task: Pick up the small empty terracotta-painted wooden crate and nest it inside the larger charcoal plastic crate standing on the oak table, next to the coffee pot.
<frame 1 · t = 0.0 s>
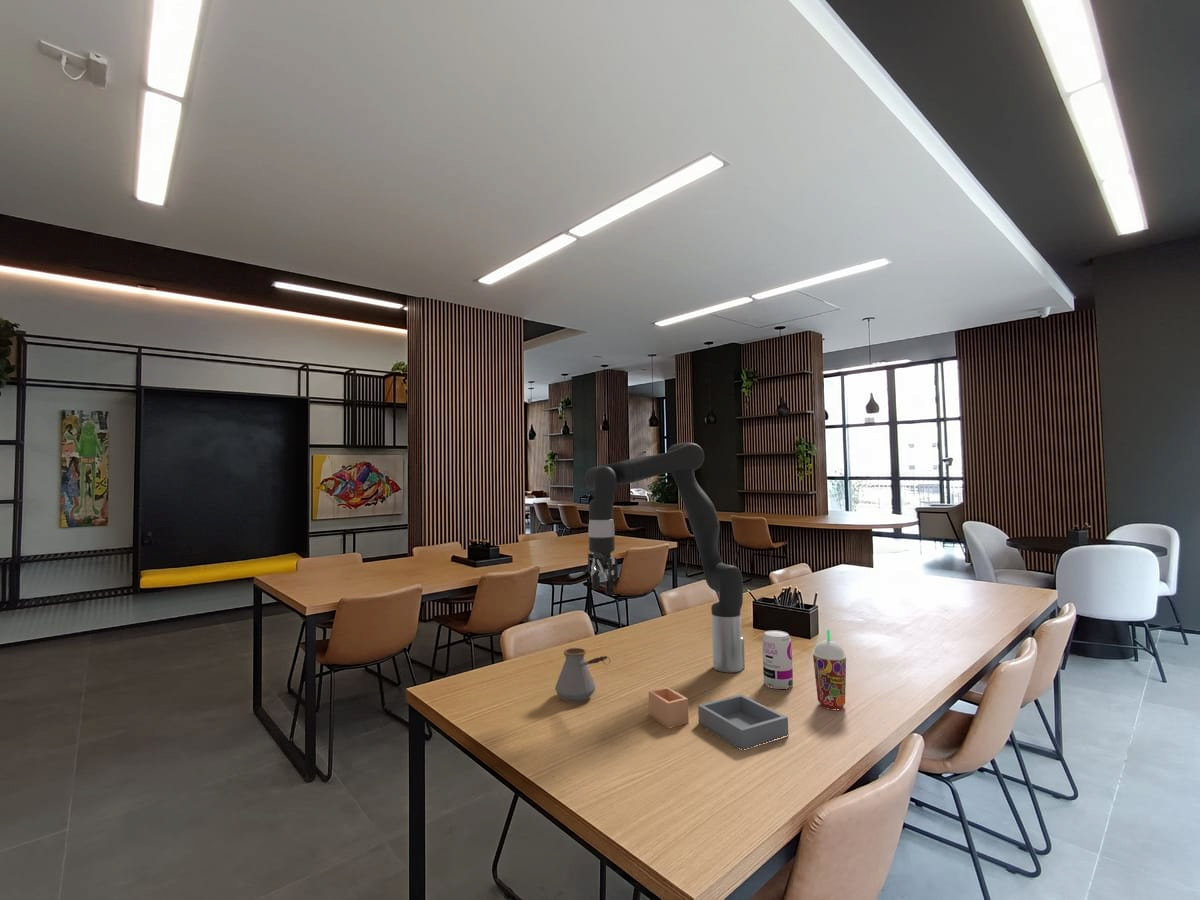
hand: (602, 591, 157), 29 cm above the table, tool pointing down, fingers open, 8 cm apart
smoothie: (831, 707, 145), on the table
terracotta crate: (668, 719, 139), on the table
supplement can: (778, 686, 160), on the table
grey crate: (742, 730, 132), on the table
coffee pot: (585, 703, 150), on the table
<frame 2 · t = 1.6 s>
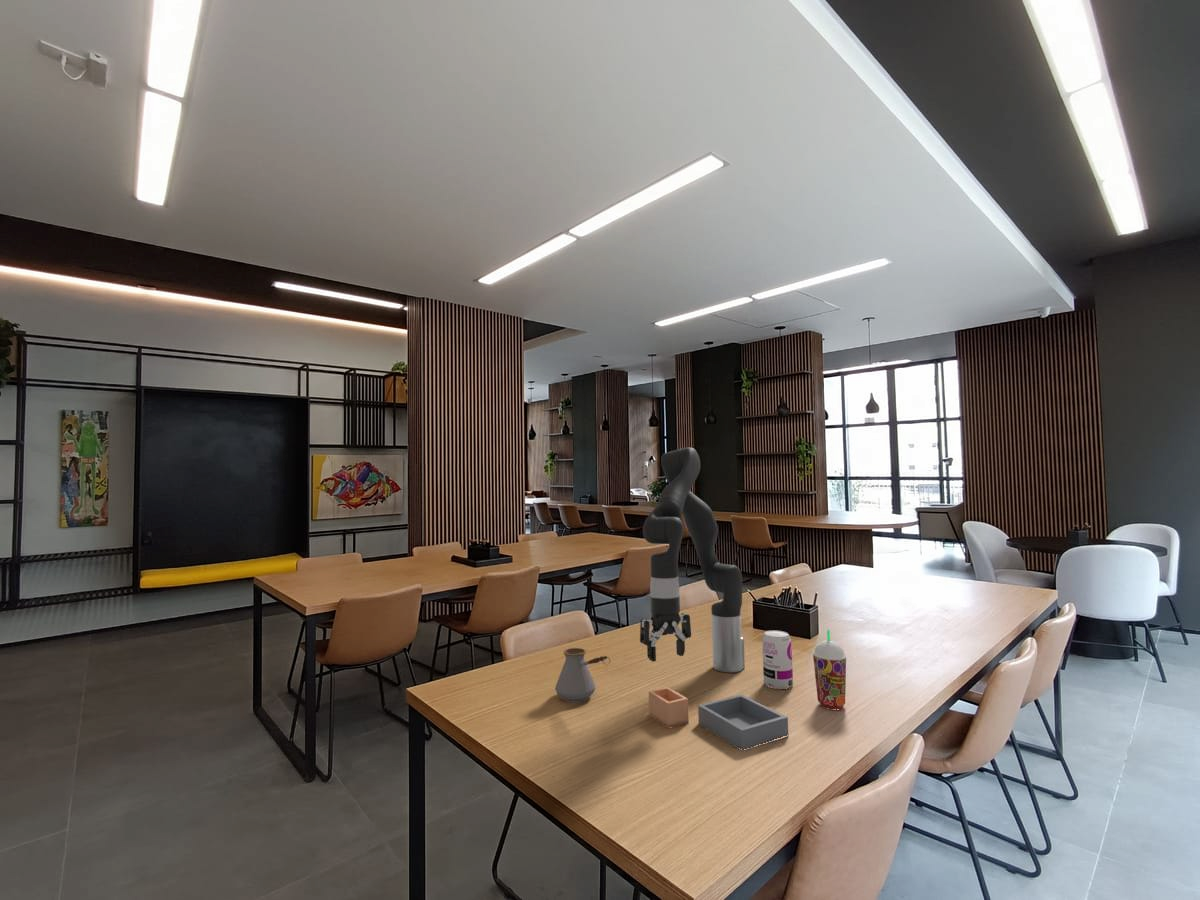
hand: (666, 657, 140), 15 cm above the table, tool pointing down, fingers open, 8 cm apart
nothing on the table moved.
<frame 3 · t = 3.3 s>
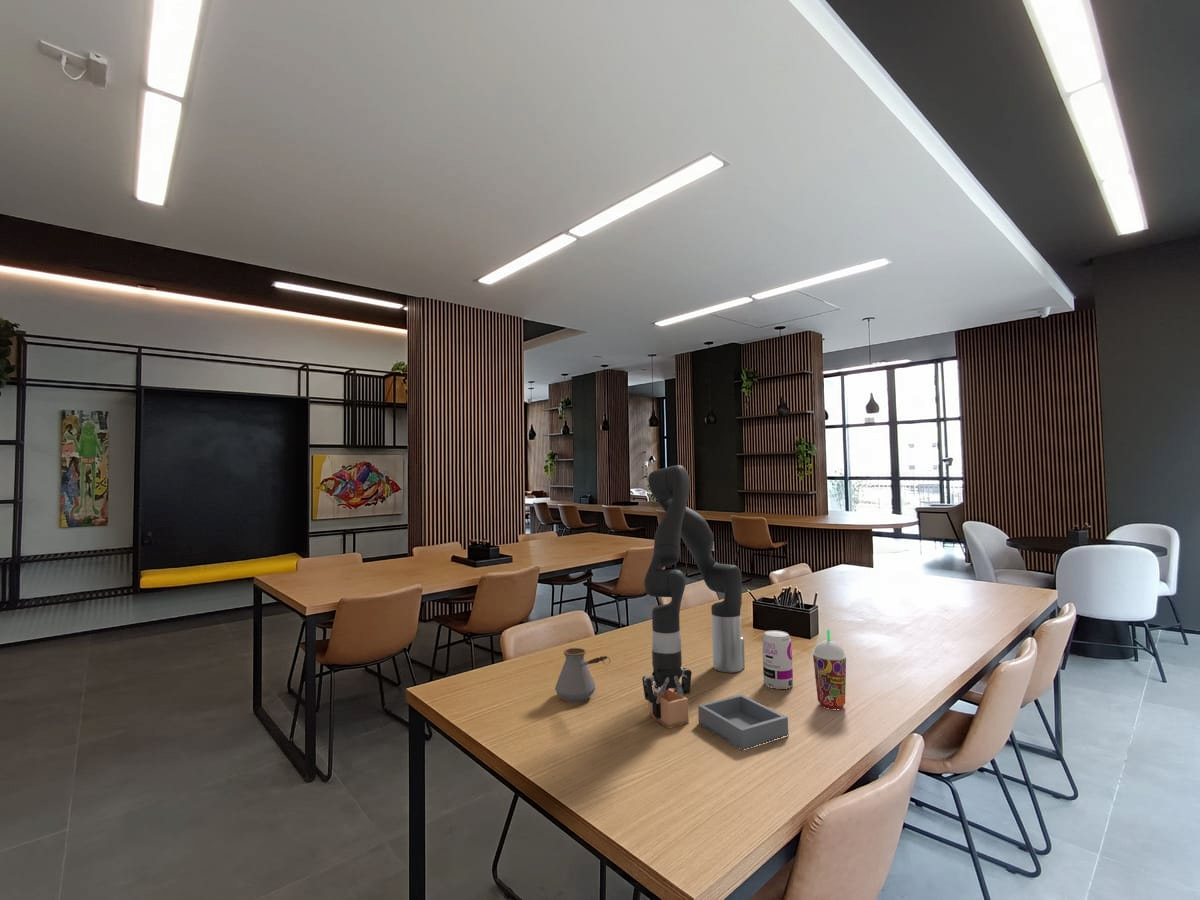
hand: (668, 714, 139), 1 cm above the table, tool pointing down, fingers closed on terracotta crate, 6 cm apart
terracotta crate: (668, 718, 139), on the table, touching gripper
everything else where it was.
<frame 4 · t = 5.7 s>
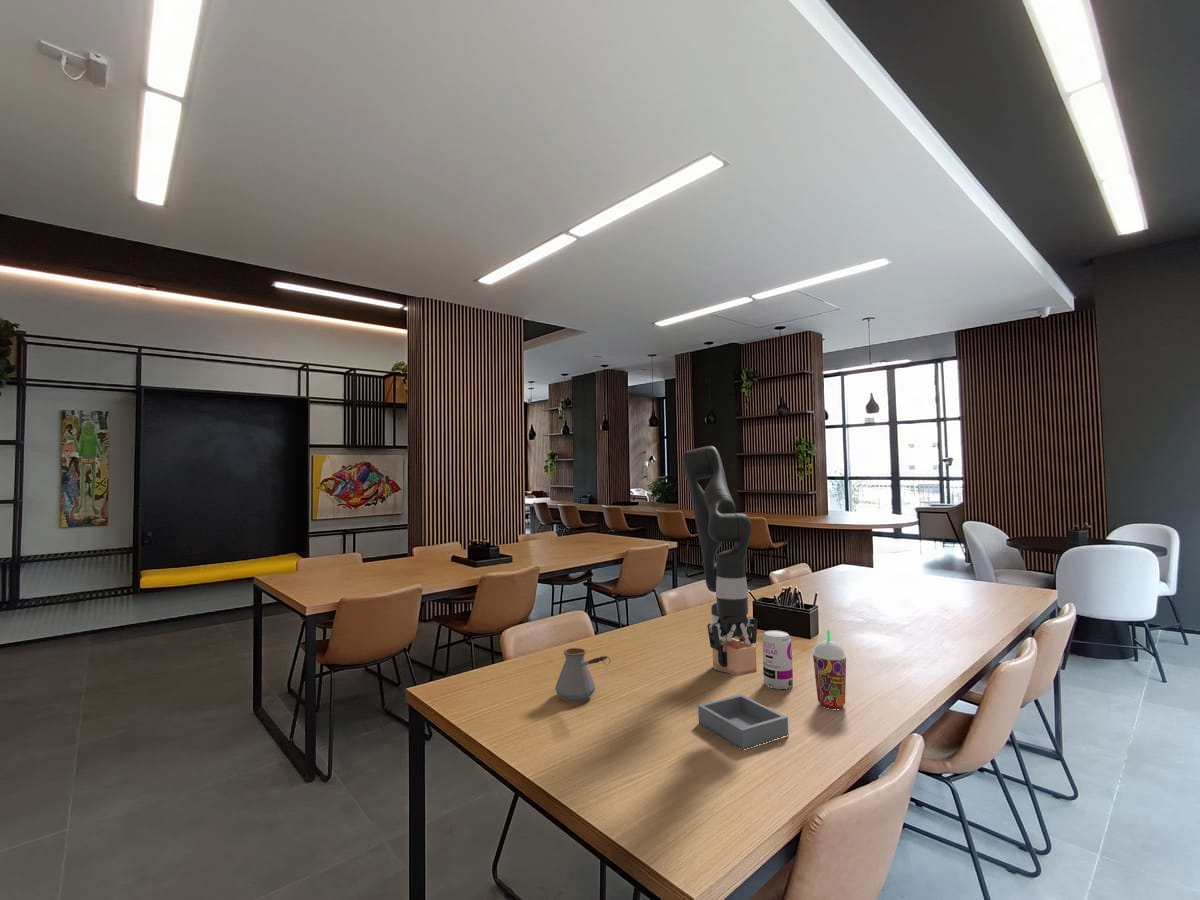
hand: (734, 663, 133), 16 cm above the table, tool pointing down, fingers closed on terracotta crate, 6 cm apart
terracotta crate: (734, 668, 133), point 15 cm above the table, touching gripper
everything else where it was.
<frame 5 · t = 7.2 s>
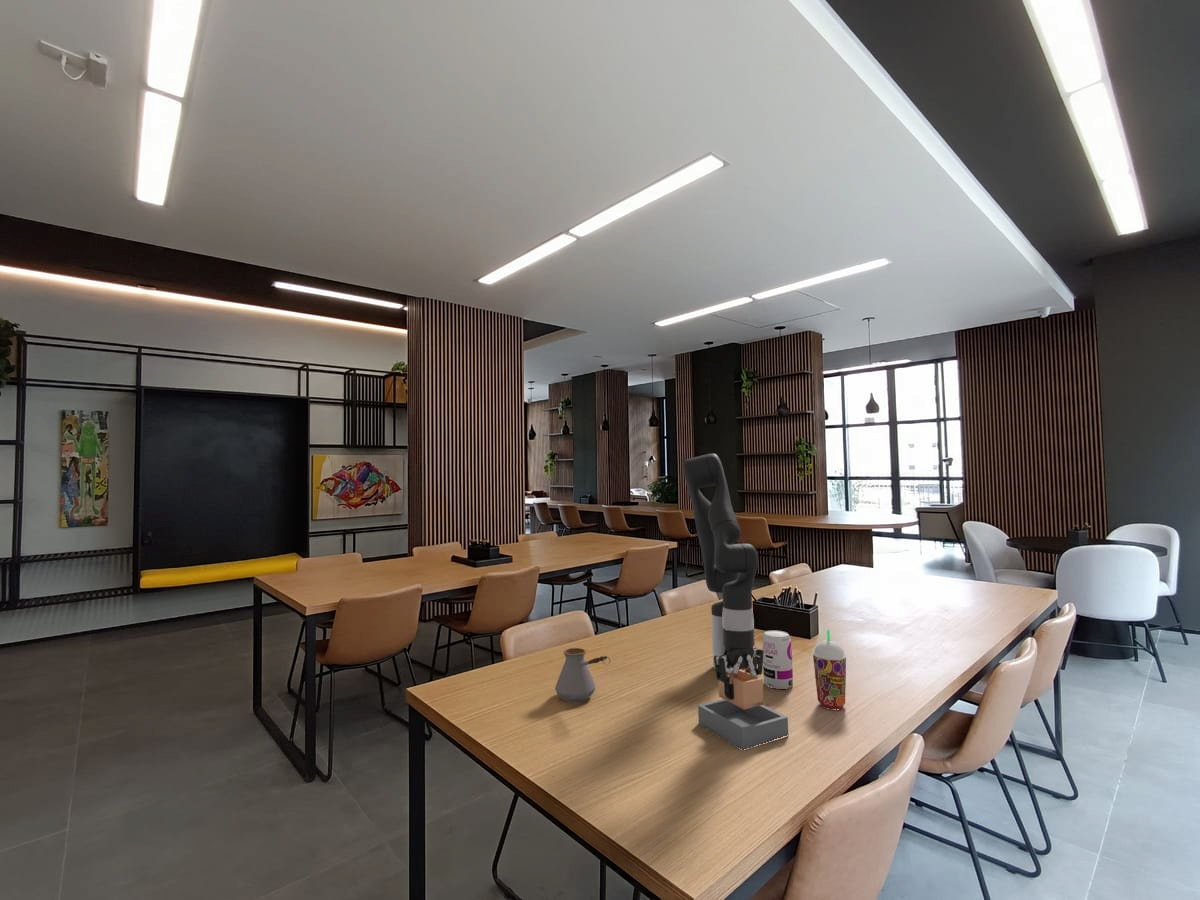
hand: (740, 695, 133), 8 cm above the table, tool pointing down, fingers closed on terracotta crate, 6 cm apart
terracotta crate: (740, 700, 132), point 7 cm above the table, touching gripper
everything else where it was.
when the fingers open (4 cm above the table, at t = 8.5 s): terracotta crate drops 2 cm, resting on grey crate.
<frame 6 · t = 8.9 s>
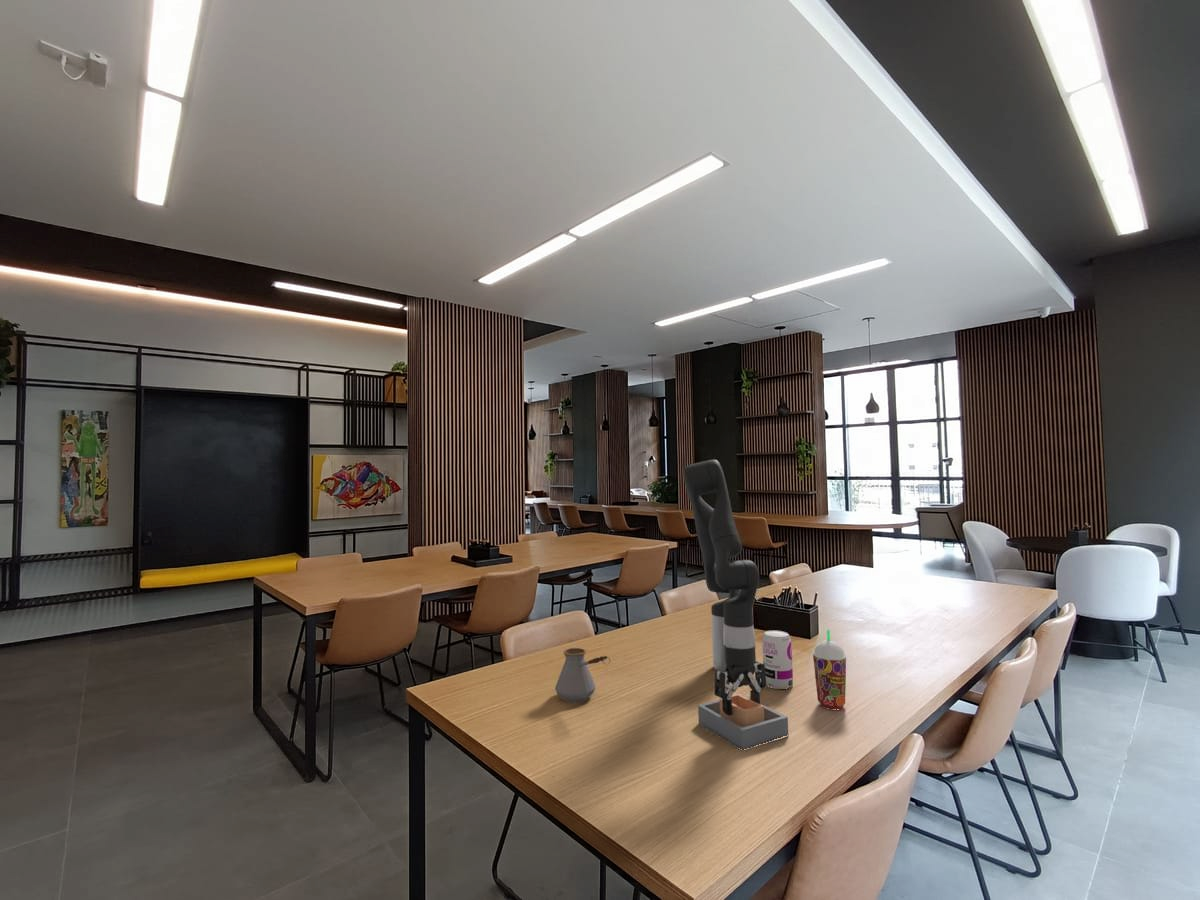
hand: (741, 710, 132), 5 cm above the table, tool pointing down, fingers open, 8 cm apart
terracotta crate: (742, 727, 132), point 1 cm above the table, touching grey crate
everything else where it was.
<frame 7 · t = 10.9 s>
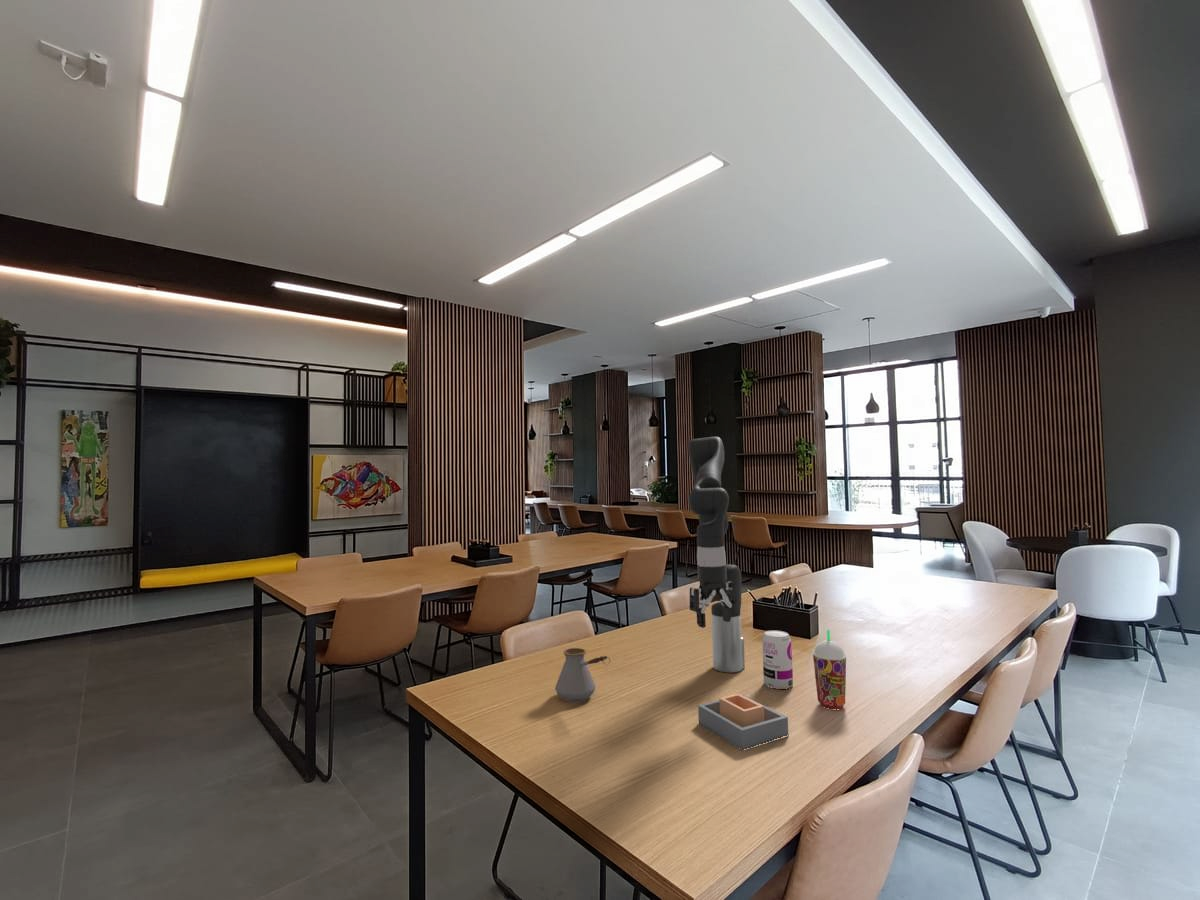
hand: (714, 624, 145), 23 cm above the table, tool pointing down, fingers open, 8 cm apart
nothing on the table moved.
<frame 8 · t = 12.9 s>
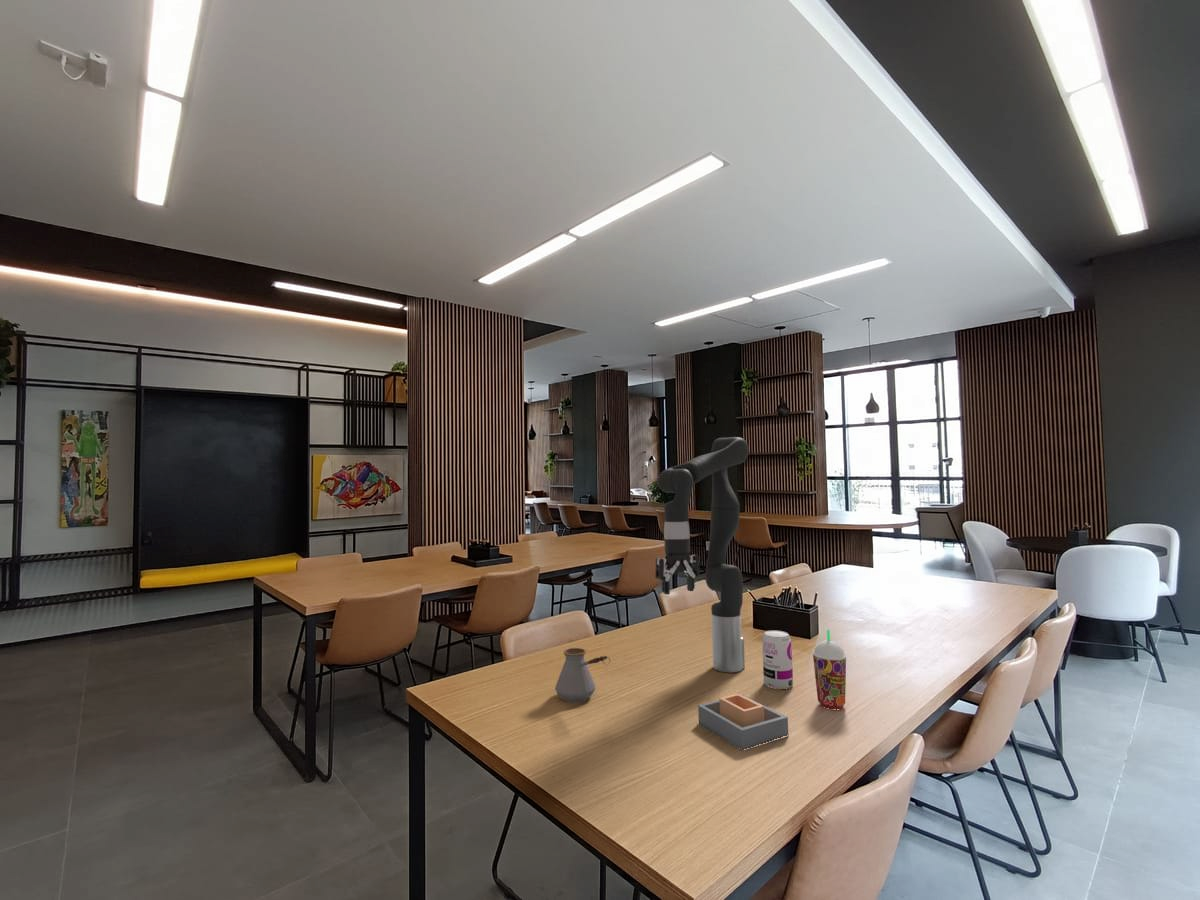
hand: (678, 592, 160), 28 cm above the table, tool pointing down, fingers open, 8 cm apart
nothing on the table moved.
at the end: terracotta crate inside the target area on the grey crate (0.0 cm from its centre), point 0.6 cm above the grey crate's base; terracotta crate tilted 0°; the gripper is holding nothing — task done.
